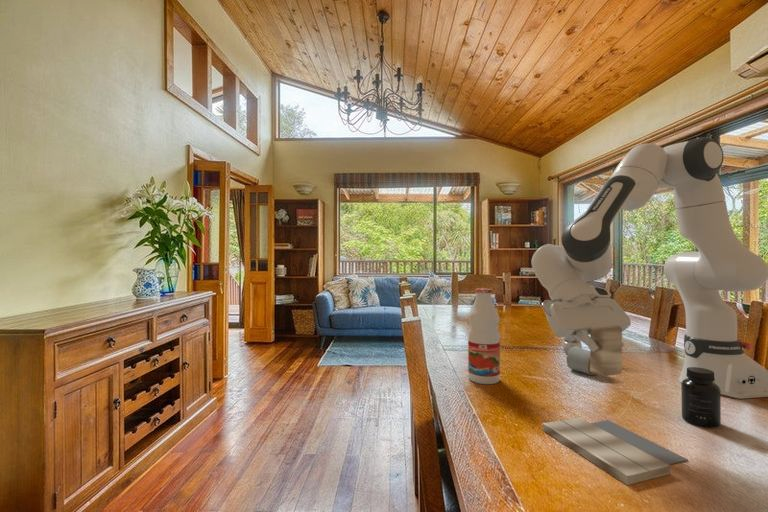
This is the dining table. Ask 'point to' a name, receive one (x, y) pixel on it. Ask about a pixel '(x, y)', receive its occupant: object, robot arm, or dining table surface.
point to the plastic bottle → (571, 343)
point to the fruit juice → (483, 340)
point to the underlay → (640, 442)
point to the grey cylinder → (579, 360)
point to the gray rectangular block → (606, 350)
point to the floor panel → (607, 450)
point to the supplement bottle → (701, 398)
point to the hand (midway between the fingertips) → (608, 348)
